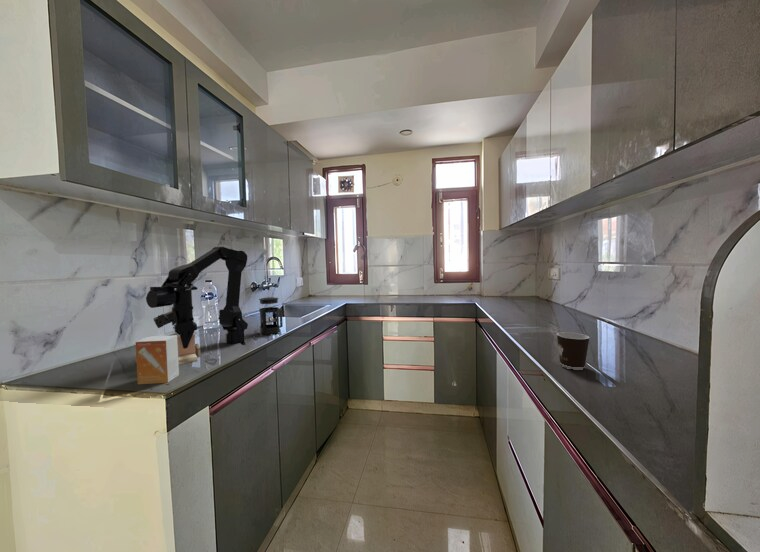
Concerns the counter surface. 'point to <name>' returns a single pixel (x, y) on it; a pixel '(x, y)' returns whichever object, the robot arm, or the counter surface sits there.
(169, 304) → the robot arm
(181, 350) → the salmon pink block
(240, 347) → the counter surface
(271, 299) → the french press
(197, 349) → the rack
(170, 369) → the small box
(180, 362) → the offcut top
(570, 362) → the coffee mug
